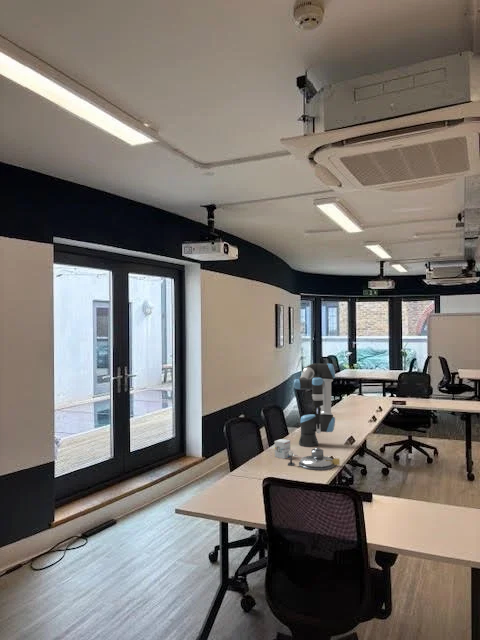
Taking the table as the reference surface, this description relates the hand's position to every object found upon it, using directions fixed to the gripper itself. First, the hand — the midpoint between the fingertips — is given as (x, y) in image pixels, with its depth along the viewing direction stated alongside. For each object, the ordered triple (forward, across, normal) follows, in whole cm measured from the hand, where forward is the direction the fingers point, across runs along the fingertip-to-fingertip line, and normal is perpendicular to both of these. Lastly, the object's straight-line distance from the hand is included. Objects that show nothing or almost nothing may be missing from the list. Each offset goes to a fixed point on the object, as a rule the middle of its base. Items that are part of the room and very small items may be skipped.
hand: (318, 433), depth 334 cm
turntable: (+17, +16, +2) cm, 23 cm away
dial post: (+18, +19, -16) cm, 30 cm away
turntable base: (+18, +16, 0) cm, 24 cm away
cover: (+15, +10, 0) cm, 18 cm away
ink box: (+18, 0, -26) cm, 32 cm away
